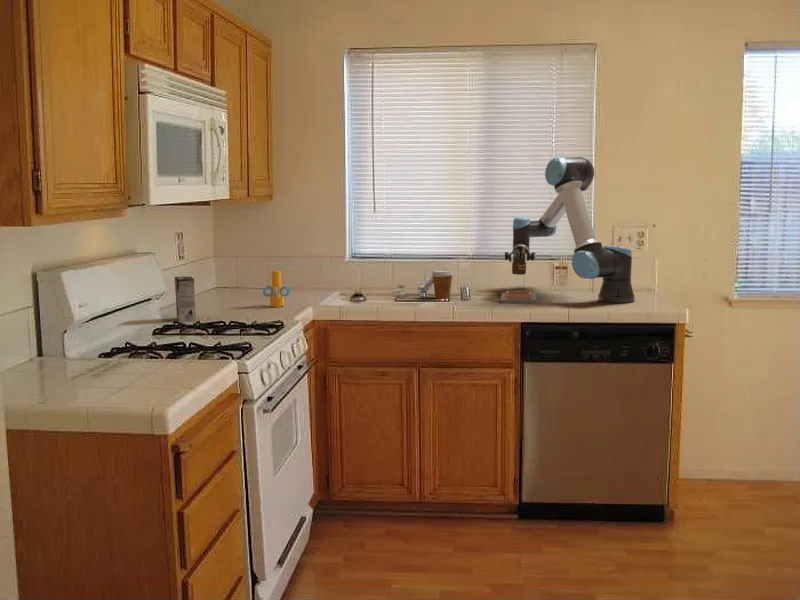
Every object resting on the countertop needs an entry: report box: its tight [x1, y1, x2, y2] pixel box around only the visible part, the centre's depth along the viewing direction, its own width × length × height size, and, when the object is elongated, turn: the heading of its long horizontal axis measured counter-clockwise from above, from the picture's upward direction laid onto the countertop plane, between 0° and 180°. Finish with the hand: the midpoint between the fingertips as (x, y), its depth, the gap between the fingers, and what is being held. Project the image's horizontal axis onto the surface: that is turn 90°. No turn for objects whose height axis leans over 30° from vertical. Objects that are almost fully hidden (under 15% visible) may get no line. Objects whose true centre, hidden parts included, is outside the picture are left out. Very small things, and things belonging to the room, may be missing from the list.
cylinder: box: [262, 269, 291, 308], centre depth 364 cm, size 12×10×15 cm
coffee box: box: [174, 276, 197, 322], centre depth 334 cm, size 9×6×16 cm
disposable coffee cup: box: [431, 269, 454, 300], centre depth 384 cm, size 10×10×12 cm
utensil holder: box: [511, 246, 527, 276], centre depth 374 cm, size 6×6×12 cm
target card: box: [499, 290, 537, 305], centre depth 376 cm, size 15×22×3 cm
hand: (518, 258), depth 369 cm, fingers closed on utensil holder, 5 cm apart
